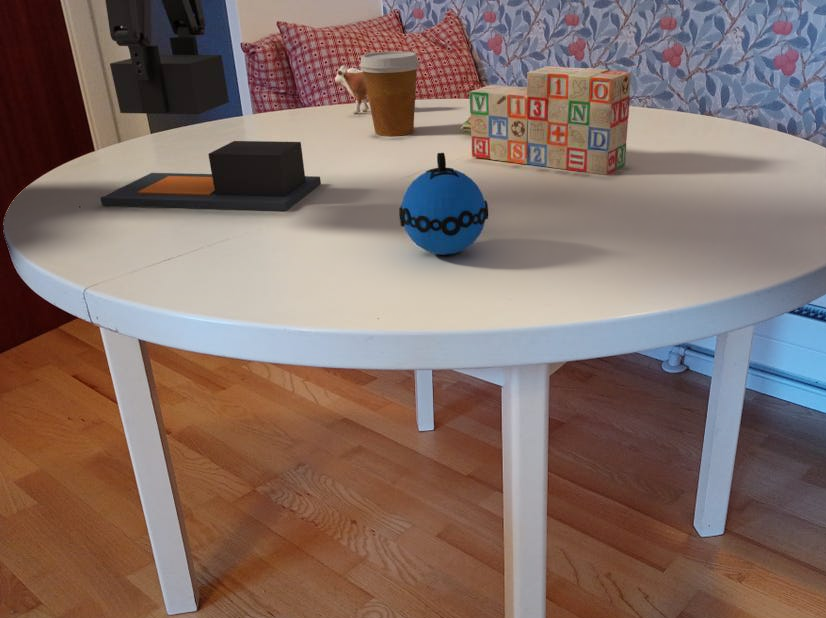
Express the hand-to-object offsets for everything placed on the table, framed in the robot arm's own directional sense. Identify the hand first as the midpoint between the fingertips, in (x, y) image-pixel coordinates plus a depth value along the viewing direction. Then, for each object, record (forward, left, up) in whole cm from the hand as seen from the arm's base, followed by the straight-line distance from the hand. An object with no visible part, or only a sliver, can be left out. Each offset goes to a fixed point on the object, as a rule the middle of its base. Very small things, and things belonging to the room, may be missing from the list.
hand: (175, 104), depth 89 cm
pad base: (-3, +10, -13) cm, 17 cm away
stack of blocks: (+37, +30, -13) cm, 50 cm away
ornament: (+31, -8, -13) cm, 35 cm away
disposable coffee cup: (+10, +48, -13) cm, 51 cm away
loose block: (0, 0, 0) cm, 0 cm away
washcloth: (+30, +52, -13) cm, 62 cm away
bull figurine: (+1, +65, -13) cm, 66 cm away
